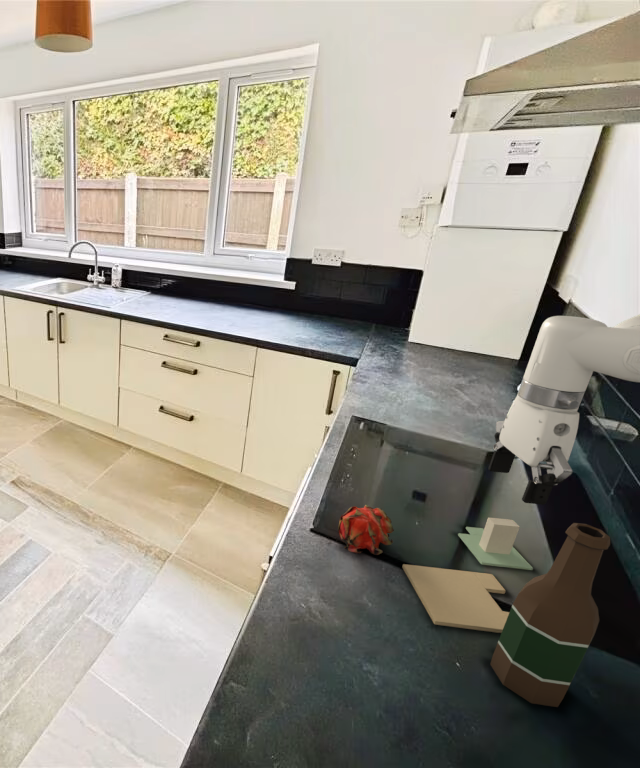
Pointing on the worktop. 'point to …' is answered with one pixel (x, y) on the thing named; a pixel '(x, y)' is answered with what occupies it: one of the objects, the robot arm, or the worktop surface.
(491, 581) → the sand mat
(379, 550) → the dragon fruit
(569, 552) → the beer bottle
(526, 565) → the sage pad
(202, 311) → the worktop surface
